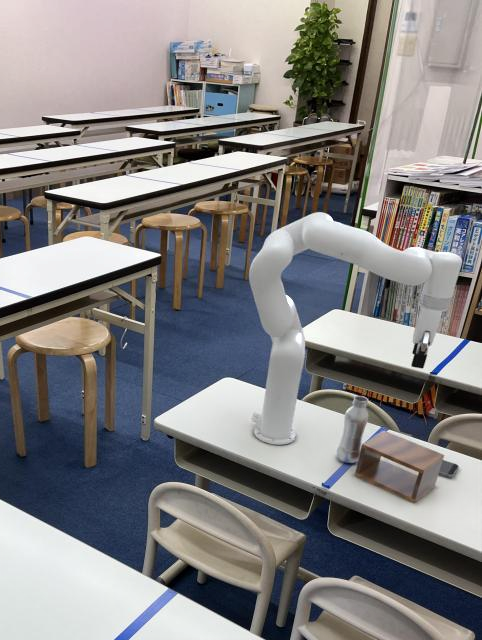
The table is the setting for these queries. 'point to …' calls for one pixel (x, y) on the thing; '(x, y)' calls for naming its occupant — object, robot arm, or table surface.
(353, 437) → the plastic bottle
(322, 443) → the table surface
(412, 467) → the shelf rack
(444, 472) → the phone
